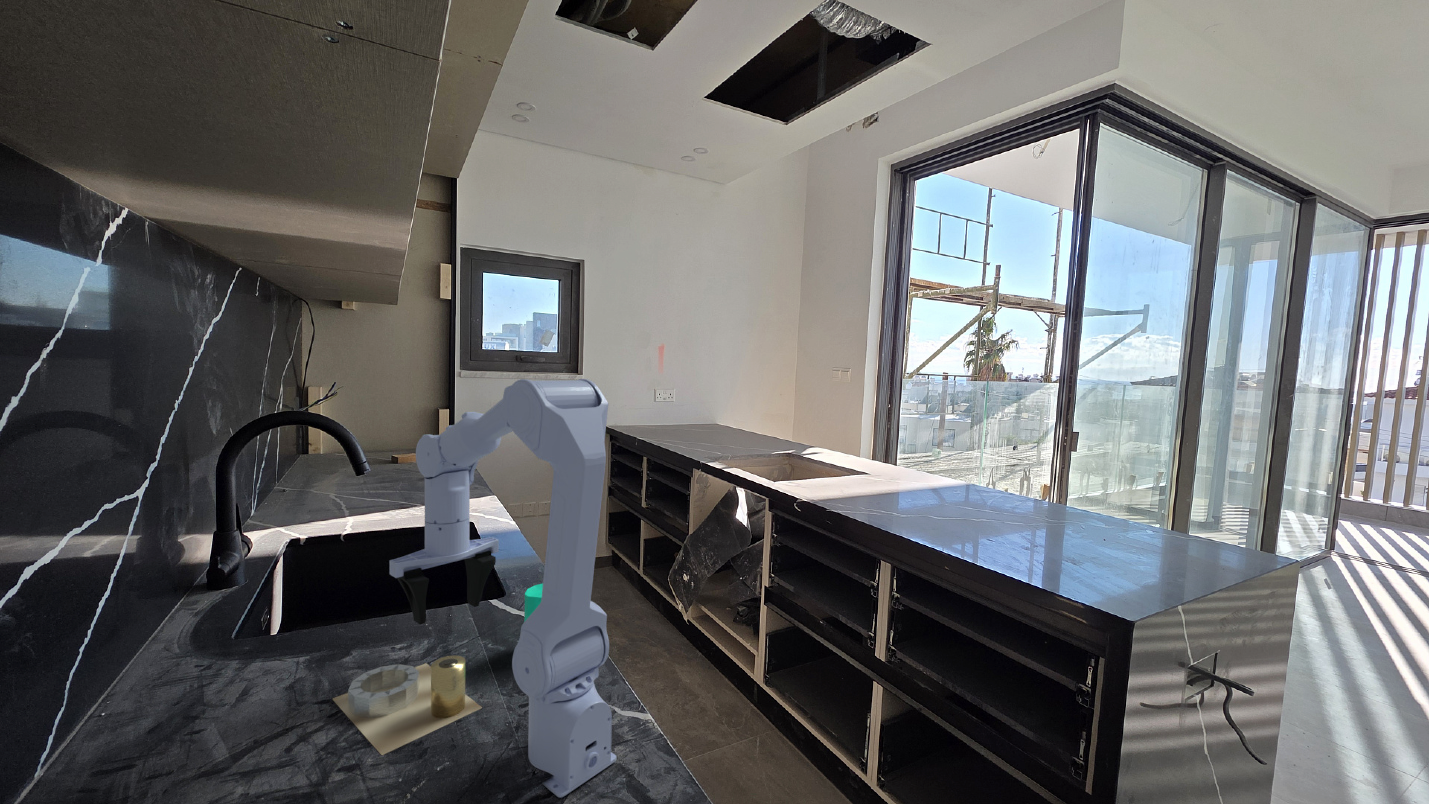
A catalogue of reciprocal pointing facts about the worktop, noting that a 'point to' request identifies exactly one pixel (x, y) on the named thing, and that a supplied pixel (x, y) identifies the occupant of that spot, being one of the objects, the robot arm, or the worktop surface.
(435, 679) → the brass sleeve
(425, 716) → the jig plate
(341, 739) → the worktop surface
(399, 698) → the bore collar
